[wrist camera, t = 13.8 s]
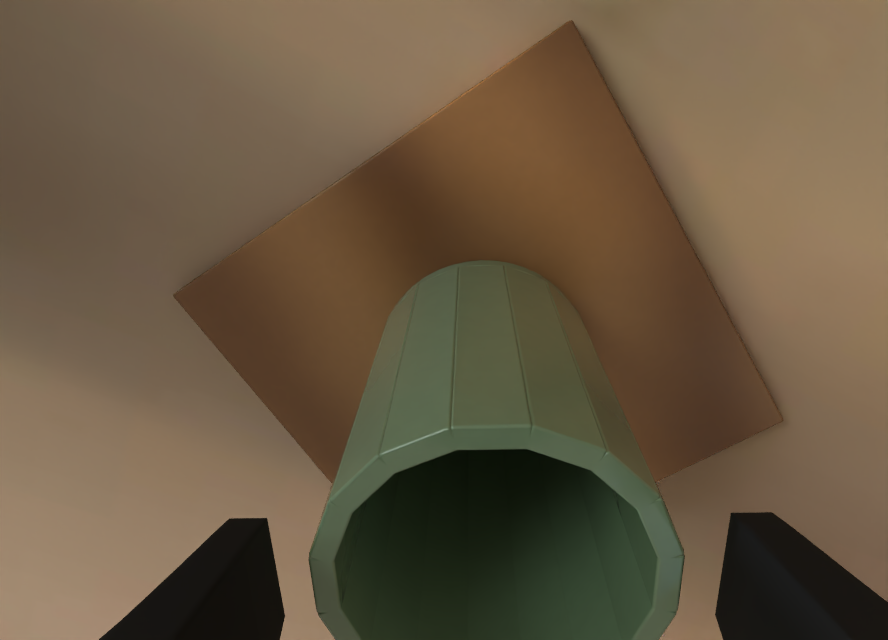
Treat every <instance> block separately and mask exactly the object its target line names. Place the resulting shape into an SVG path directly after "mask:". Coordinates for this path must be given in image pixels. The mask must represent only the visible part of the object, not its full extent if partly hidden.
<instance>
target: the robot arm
mask: <svg viewBox="0 0 888 640" xmlns="http://www.w3.org/2000/svg"><path fill="white" fill-rule="evenodd" d="M715 615H716V618H717V621H718V625H719V628H720V631H721V634H722V637H723V640H888V602H887V601H886V600H884V599H883V598H882V597H880V596H879V595H878V594H876V593H875V592H874V591H873V590H871V589H870V588H869V587H867V586H866V585H865V584H864V583H862V582H861V581H860V580H858V579H857V578H856V577H855V576H853V575H852V574H851V573H849V572H848V571H847V570H846V569H844V568H843V567H842V566H841V565H839V564H838V563H837V562H835V561H834V560H833V559H832V558H830V557H829V556H828V555H827V554H825V553H824V552H823V551H822V550H820V549H819V548H818V547H816V546H815V545H814V544H813V543H811V542H810V541H809V540H808V539H806V538H805V537H804V536H803V535H801V534H800V533H799V532H797V531H796V530H795V529H794V528H792V527H791V526H790V525H788V524H787V523H786V522H784V521H783V520H782V519H780V518H779V517H778V516H776V515H775V514H773V513H772V512H764V513H731V516H730V522H729V529H728V535H727V542H726V548H725V555H724V561H723V568H722V574H721V581H720V587H719V594H718V600H717V607H716V613H715ZM284 618H285V614H284V608H283V603H282V597H281V592H280V587H279V581H278V576H277V570H276V565H275V559H274V554H273V548H272V543H271V537H270V532H269V526H268V521H267V518H237V519H229V520H227V521H226V522H225V523H224V524H223V525H222V526H221V527H220V528H219V529H218V530H217V531H215V532H214V533H213V534H212V535H211V536H210V537H209V538H208V539H207V540H206V541H205V542H204V543H203V544H202V545H201V546H200V547H199V548H198V549H197V550H196V551H195V552H193V553H192V554H191V555H190V556H189V557H188V558H187V559H186V560H185V561H184V562H183V563H182V564H181V565H180V566H179V567H178V568H177V569H176V570H175V571H174V572H173V573H172V574H170V575H169V576H168V577H167V578H166V579H165V580H164V581H163V582H162V583H161V584H160V585H159V586H158V587H157V588H156V589H154V590H153V591H152V592H151V593H150V594H149V595H148V596H147V597H146V598H145V599H144V600H143V601H142V602H140V603H139V604H138V605H137V606H136V607H135V608H134V609H133V610H132V611H131V612H130V613H129V614H128V615H127V616H125V617H124V618H123V619H122V620H121V621H120V622H119V623H118V624H116V625H115V626H114V627H113V628H112V629H111V630H109V631H108V632H107V633H106V634H105V635H104V636H102V637H101V638H100V639H99V640H280V636H281V631H282V627H283V622H284Z"/></svg>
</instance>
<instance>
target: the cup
mask: <svg viewBox="0 0 888 640" xmlns="http://www.w3.org/2000/svg"><path fill="white" fill-rule="evenodd" d="M684 557H685V555H684V549H683V547H682V544H681V542H680V540H679V537H678V535H677V532H676V530H675V527H674V525H673V523H672V520H671V518H670V515H669V513H668V510H667V508H666V505H665V503H664V501H663V498H662V496H661V494H660V492H659V489H658V487H657V485H656V483H655V481H654V478H653V476H652V474H651V472H650V469H649V467H648V465H647V463H646V461H645V458H644V456H643V454H642V452H641V450H640V447H639V445H638V443H637V441H636V439H635V436H634V434H633V432H632V430H631V428H630V425H629V423H628V421H627V419H626V416H625V414H624V412H623V410H622V408H621V405H620V403H619V401H618V399H617V397H616V394H615V392H614V390H613V388H612V386H611V383H610V381H609V379H608V377H607V375H606V372H605V370H604V368H603V366H602V363H601V361H600V359H599V357H598V355H597V352H596V350H595V348H594V346H593V344H592V341H591V339H590V337H589V335H588V333H587V330H586V328H585V326H584V324H583V322H582V319H581V317H580V315H579V313H578V311H577V310H576V308H575V307H574V306H573V305H572V303H571V302H570V300H569V299H568V298H567V297H566V296H565V294H564V293H563V292H562V291H561V290H560V289H559V288H558V287H556V286H555V285H554V284H553V283H551V282H550V281H549V280H548V279H546V278H544V277H543V276H541V275H539V274H538V273H536V272H534V271H531V270H529V269H527V268H525V267H522V266H518V265H515V264H512V263H507V262H501V261H491V260H478V261H467V262H462V263H458V264H453V265H450V266H448V267H445V268H442V269H439V270H437V271H435V272H433V273H431V274H429V275H428V276H426V277H424V278H423V279H422V280H420V281H419V282H417V283H416V284H415V285H413V286H412V287H411V288H410V289H409V290H408V291H407V292H406V293H405V294H404V295H403V296H402V297H401V299H400V300H399V301H398V302H397V304H396V305H395V307H394V308H393V310H392V312H391V313H390V315H389V316H388V319H387V321H386V324H385V327H384V330H383V333H382V335H381V338H380V341H379V344H378V347H377V350H376V353H375V356H374V359H373V362H372V365H371V368H370V371H369V374H368V377H367V380H366V383H365V386H364V389H363V392H362V395H361V398H360V401H359V404H358V407H357V410H356V413H355V416H354V419H353V422H352V425H351V428H350V431H349V434H348V437H347V440H346V443H345V446H344V449H343V452H342V455H341V458H340V461H339V464H338V467H337V470H336V473H335V476H334V479H333V482H332V485H331V488H330V491H329V495H328V498H327V501H326V504H325V507H324V510H323V513H322V516H321V519H320V522H319V525H318V528H317V531H316V534H315V537H314V540H313V543H312V546H311V549H310V552H309V565H310V572H311V578H312V585H313V591H314V597H315V604H316V610H317V612H318V615H319V617H320V618H321V620H322V621H323V623H324V624H325V625H326V627H327V628H328V630H329V631H330V633H331V634H332V635H333V637H334V638H335V640H659V639H660V637H661V636H662V635H663V633H664V632H665V630H666V629H667V627H668V626H669V624H670V623H671V621H672V620H673V618H674V617H675V615H676V613H677V611H678V606H679V597H680V589H681V581H682V573H683V565H684Z"/></svg>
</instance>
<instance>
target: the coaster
mask: <svg viewBox="0 0 888 640" xmlns="http://www.w3.org/2000/svg"><path fill="white" fill-rule="evenodd" d="M478 260H491V261H501V262H507V263H512V264H515V265H518V266H522V267H525V268H527V269H529V270H531V271H534V272H536V273H538V274H539V275H541V276H543V277H544V278H546V279H548V280H549V281H550V282H551V283H553V284H554V285H555V286H556V287H558V288H559V289H560V290H561V291H562V292H563V293H564V294H565V296H566V297H567V298H568V299H569V300H570V302H571V303H572V305H573V306H574V307H575V308H576V310H577V311H578V313H579V315H580V317H581V319H582V322H583V324H584V326H585V328H586V330H587V333H588V335H589V337H590V339H591V341H592V344H593V346H594V348H595V350H596V352H597V355H598V357H599V359H600V361H601V363H602V366H603V368H604V370H605V372H606V375H607V377H608V379H609V381H610V383H611V386H612V388H613V390H614V392H615V394H616V397H617V399H618V401H619V403H620V405H621V408H622V410H623V412H624V414H625V416H626V419H627V421H628V423H629V425H630V428H631V430H632V432H633V434H634V436H635V439H636V441H637V443H638V445H639V447H640V450H641V452H642V454H643V456H644V458H645V461H646V463H647V465H648V467H649V469H650V472H651V474H652V476H653V478H654V481H655V482H657V481H659V480H661V479H663V478H665V477H667V476H669V475H671V474H673V473H675V472H678V471H680V470H682V469H684V468H686V467H688V466H690V465H692V464H694V463H696V462H698V461H701V460H703V459H705V458H707V457H709V456H711V455H713V454H715V453H717V452H719V451H721V450H723V449H726V448H728V447H730V446H732V445H734V444H736V443H738V442H740V441H742V440H744V439H746V438H749V437H751V436H753V435H755V434H757V433H759V432H761V431H763V430H765V429H767V428H769V427H772V426H774V425H776V424H778V423H780V422H782V421H783V418H782V416H781V414H780V412H779V410H778V408H777V407H776V405H775V403H774V401H773V399H772V397H771V395H770V393H769V391H768V390H767V388H766V386H765V384H764V382H763V380H762V378H761V376H760V374H759V372H758V371H757V369H756V367H755V365H754V363H753V361H752V359H751V357H750V355H749V354H748V352H747V350H746V348H745V346H744V344H743V342H742V340H741V338H740V337H739V335H738V333H737V331H736V329H735V327H734V325H733V323H732V321H731V320H730V318H729V316H728V314H727V312H726V310H725V308H724V306H723V304H722V302H721V301H720V299H719V297H718V295H717V293H716V291H715V289H714V287H713V285H712V284H711V282H710V280H709V278H708V276H707V274H706V272H705V270H704V268H703V267H702V265H701V263H700V261H699V259H698V257H697V255H696V253H695V251H694V250H693V248H692V246H691V244H690V242H689V240H688V238H687V236H686V234H685V232H684V231H683V229H682V227H681V225H680V223H679V221H678V219H677V217H676V215H675V214H674V212H673V210H672V208H671V206H670V204H669V202H668V200H667V198H666V197H665V195H664V193H663V191H662V189H661V187H660V185H659V183H658V181H657V179H656V178H655V176H654V174H653V172H652V170H651V168H650V166H649V164H648V162H647V161H646V159H645V157H644V155H643V153H642V151H641V149H640V147H639V145H638V144H637V142H636V140H635V138H634V136H633V134H632V132H631V130H630V128H629V127H628V125H627V123H626V121H625V119H624V117H623V115H622V113H621V111H620V109H619V108H618V106H617V104H616V102H615V100H614V98H613V96H612V94H611V92H610V91H609V89H608V87H607V85H606V83H605V81H604V79H603V77H602V75H601V74H600V72H599V70H598V68H597V66H596V64H595V62H594V60H593V58H592V57H591V55H590V53H589V51H588V49H587V47H586V45H585V43H584V41H583V39H582V38H581V36H580V34H579V32H578V30H577V28H576V26H575V24H574V22H573V21H572V20H571V21H568V22H567V23H565V24H564V25H562V26H561V27H560V28H558V29H557V30H555V31H554V32H552V33H551V34H549V35H548V36H547V37H545V38H544V39H542V40H541V41H539V42H538V43H536V44H535V45H533V46H532V47H531V48H529V49H528V50H526V51H525V52H523V53H522V54H520V55H519V56H518V57H516V58H515V59H513V60H512V61H510V62H509V63H507V64H506V65H504V66H503V67H502V68H500V69H499V70H497V71H496V72H494V73H493V74H491V75H490V76H489V77H487V78H486V79H484V80H483V81H481V82H480V83H478V84H477V85H476V86H474V87H473V88H471V89H470V90H468V91H467V92H465V93H464V94H462V95H461V96H460V97H458V98H457V99H455V100H454V101H452V102H451V103H449V104H448V105H447V106H445V107H444V108H442V109H441V110H439V111H438V112H436V113H435V114H434V115H432V116H431V117H429V118H428V119H426V120H425V121H423V122H422V123H420V124H419V125H418V126H416V127H415V128H413V129H412V130H410V131H409V132H407V133H406V134H405V135H403V136H402V137H400V138H399V139H397V140H396V141H394V142H393V143H391V144H390V145H389V146H387V147H386V148H384V149H383V150H381V151H380V152H378V153H377V154H376V155H374V156H373V157H371V158H370V159H368V160H367V161H365V162H364V163H363V164H361V165H360V166H358V167H357V168H355V169H354V170H352V171H351V172H349V173H348V174H347V175H345V176H344V177H342V178H341V179H339V180H338V181H336V182H335V183H334V184H332V185H331V186H329V187H328V188H326V189H325V190H323V191H322V192H321V193H319V194H318V195H316V196H315V197H313V198H312V199H310V200H309V201H307V202H306V203H305V204H303V205H302V206H300V207H299V208H297V209H296V210H294V211H293V212H292V213H290V214H289V215H287V216H286V217H284V218H283V219H281V220H280V221H278V222H277V223H276V224H274V225H273V226H271V227H270V228H268V229H267V230H265V231H264V232H263V233H261V234H260V235H258V236H257V237H255V238H254V239H252V240H251V241H250V242H248V243H247V244H245V245H244V246H242V247H241V248H239V249H238V250H236V251H235V252H234V253H232V254H231V255H229V256H228V257H226V258H225V259H223V260H222V261H221V262H219V263H218V264H216V265H215V266H213V267H212V268H210V269H209V270H207V271H206V272H205V273H203V274H202V275H200V276H199V277H197V278H196V279H194V280H193V281H192V282H190V283H189V284H187V285H186V286H184V287H183V288H181V289H180V290H179V291H177V292H176V293H175V294H174V295H173V297H174V298H175V299H176V300H177V301H178V302H179V304H180V305H181V306H182V307H183V308H184V310H185V311H186V312H187V313H188V314H189V315H190V317H191V318H192V319H193V320H194V321H195V323H196V324H197V325H198V326H199V327H200V328H201V330H202V331H203V332H204V333H205V334H206V336H207V337H208V338H209V339H210V340H211V341H212V343H213V344H214V345H215V346H216V347H217V348H218V350H219V351H220V352H221V353H222V354H223V356H224V357H225V358H226V359H227V360H228V361H229V363H230V364H231V365H232V366H233V367H234V369H235V370H236V371H237V372H238V373H239V374H240V376H241V377H242V378H243V379H244V380H245V382H246V383H247V384H248V385H249V386H250V387H251V389H252V390H253V391H254V392H255V393H256V395H257V396H258V397H259V398H260V399H261V400H262V402H263V403H264V404H265V405H266V406H267V407H268V409H269V410H270V411H271V412H272V413H273V415H274V416H275V417H276V418H277V419H278V420H279V422H280V423H281V424H282V425H283V426H284V428H285V429H286V430H287V431H288V432H289V433H290V435H291V436H292V437H293V438H294V439H295V441H296V442H297V443H298V444H299V445H300V446H301V448H302V449H303V450H304V451H305V452H306V453H307V455H308V456H309V457H310V458H311V459H312V461H313V462H314V463H315V464H316V465H317V466H318V468H319V469H320V470H321V471H322V472H323V474H324V475H325V476H326V477H327V478H328V479H329V481H330V482H331V483H332V482H333V479H334V476H335V473H336V470H337V467H338V464H339V461H340V458H341V455H342V452H343V449H344V446H345V443H346V440H347V437H348V434H349V431H350V428H351V425H352V422H353V419H354V416H355V413H356V410H357V407H358V404H359V401H360V398H361V395H362V392H363V389H364V386H365V383H366V380H367V377H368V374H369V371H370V368H371V365H372V362H373V359H374V356H375V353H376V350H377V347H378V344H379V341H380V338H381V335H382V333H383V330H384V327H385V324H386V321H387V319H388V316H389V315H390V313H391V312H392V310H393V308H394V307H395V305H396V304H397V302H398V301H399V300H400V299H401V297H402V296H403V295H404V294H405V293H406V292H407V291H408V290H409V289H410V288H411V287H412V286H413V285H415V284H416V283H417V282H419V281H420V280H422V279H423V278H424V277H426V276H428V275H429V274H431V273H433V272H435V271H437V270H439V269H442V268H445V267H448V266H450V265H453V264H458V263H462V262H467V261H478Z"/></svg>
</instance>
